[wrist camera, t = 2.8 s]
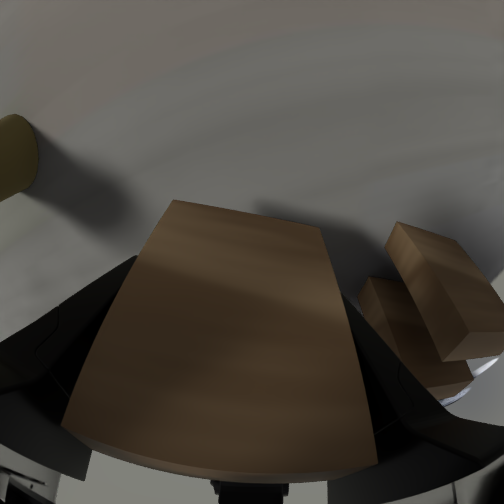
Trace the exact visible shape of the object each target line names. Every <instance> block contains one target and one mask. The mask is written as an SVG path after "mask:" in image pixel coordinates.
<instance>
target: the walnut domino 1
mask: <svg viewBox="0 0 504 504" xmlns="http://www.w3.org/2000/svg"><path fill="white" fill-rule="evenodd" d="M61 426H62V427H63V428H64V429H65V430H67V431H68V432H69V433H70V434H72V435H73V436H74V437H76V438H77V439H78V440H79V441H81V442H82V443H83V444H85V445H86V446H88V447H89V448H90V449H92V450H95V451H97V452H100V453H102V454H105V455H108V456H111V457H114V458H117V459H120V460H123V461H126V462H129V463H133V464H136V465H140V466H144V467H148V468H151V469H155V470H159V471H164V472H169V473H173V474H178V475H183V476H189V477H195V478H202V479H209V480H218V481H228V482H241V483H271V484H274V483H304V482H317V481H327V480H335V479H338V478H341V477H344V476H347V475H350V474H352V473H355V472H358V471H361V470H363V469H366V468H368V467H371V466H373V465H376V464H378V459H377V452H376V445H375V439H374V433H373V428H372V422H371V417H370V411H369V406H368V401H367V396H366V392H365V387H364V382H363V378H362V374H361V369H360V365H359V361H358V357H357V353H356V349H355V345H354V341H353V337H352V333H351V329H350V326H349V322H348V318H347V315H346V311H345V307H344V304H343V301H342V297H341V294H340V290H339V287H338V284H337V280H336V277H335V274H334V271H333V268H332V264H331V261H330V258H329V255H328V252H327V249H326V246H325V243H324V240H323V237H322V234H321V231H320V229H319V228H318V227H314V226H309V225H304V224H300V223H295V222H290V221H286V220H281V219H276V218H271V217H266V216H261V215H256V214H251V213H246V212H241V211H235V210H230V209H225V208H219V207H214V206H208V205H202V204H197V203H191V202H185V201H179V200H173V201H172V202H171V204H170V205H169V207H168V208H167V210H166V211H165V213H164V215H163V216H162V218H161V219H160V221H159V222H158V224H157V226H156V227H155V229H154V230H153V232H152V234H151V235H150V237H149V239H148V240H147V242H146V244H145V245H144V247H143V249H142V250H141V252H140V254H139V255H138V257H137V259H136V261H135V262H134V264H133V266H132V268H131V269H130V271H129V273H128V275H127V277H126V278H125V280H124V282H123V284H122V286H121V288H120V290H119V291H118V293H117V295H116V297H115V299H114V301H113V303H112V305H111V307H110V309H109V311H108V313H107V315H106V317H105V319H104V321H103V323H102V325H101V327H100V329H99V331H98V333H97V336H96V338H95V340H94V342H93V344H92V347H91V349H90V351H89V353H88V356H87V358H86V360H85V363H84V365H83V367H82V370H81V372H80V374H79V377H78V379H77V382H76V384H75V387H74V390H73V392H72V395H71V398H70V400H69V403H68V406H67V409H66V411H65V414H64V417H63V420H62V423H61Z"/></svg>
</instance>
